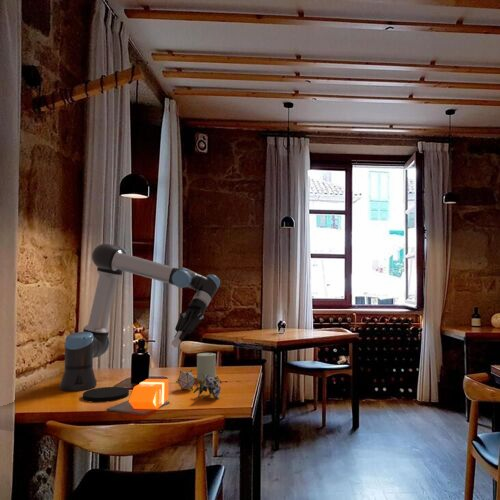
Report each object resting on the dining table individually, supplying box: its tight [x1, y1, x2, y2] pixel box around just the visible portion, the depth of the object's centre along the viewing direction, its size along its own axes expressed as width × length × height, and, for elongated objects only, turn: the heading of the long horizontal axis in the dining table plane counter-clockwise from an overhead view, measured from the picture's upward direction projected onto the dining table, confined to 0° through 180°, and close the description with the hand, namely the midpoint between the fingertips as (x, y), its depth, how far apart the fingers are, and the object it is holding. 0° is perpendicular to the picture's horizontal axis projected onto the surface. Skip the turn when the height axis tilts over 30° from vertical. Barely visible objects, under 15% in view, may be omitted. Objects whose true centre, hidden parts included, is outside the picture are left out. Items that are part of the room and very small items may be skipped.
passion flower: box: [193, 373, 223, 400], centre depth 177 cm, size 11×11×12 cm
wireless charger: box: [82, 386, 130, 403], centre depth 181 cm, size 18×18×2 cm
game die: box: [175, 369, 197, 392], centre depth 191 cm, size 9×8×10 cm
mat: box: [106, 399, 170, 416], centre depth 165 cm, size 16×16×1 cm
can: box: [196, 352, 217, 382], centre depth 212 cm, size 9×9×12 cm
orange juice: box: [128, 378, 169, 410], centre depth 164 cm, size 8×9×20 cm
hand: (174, 345), depth 186 cm, fingers closed
